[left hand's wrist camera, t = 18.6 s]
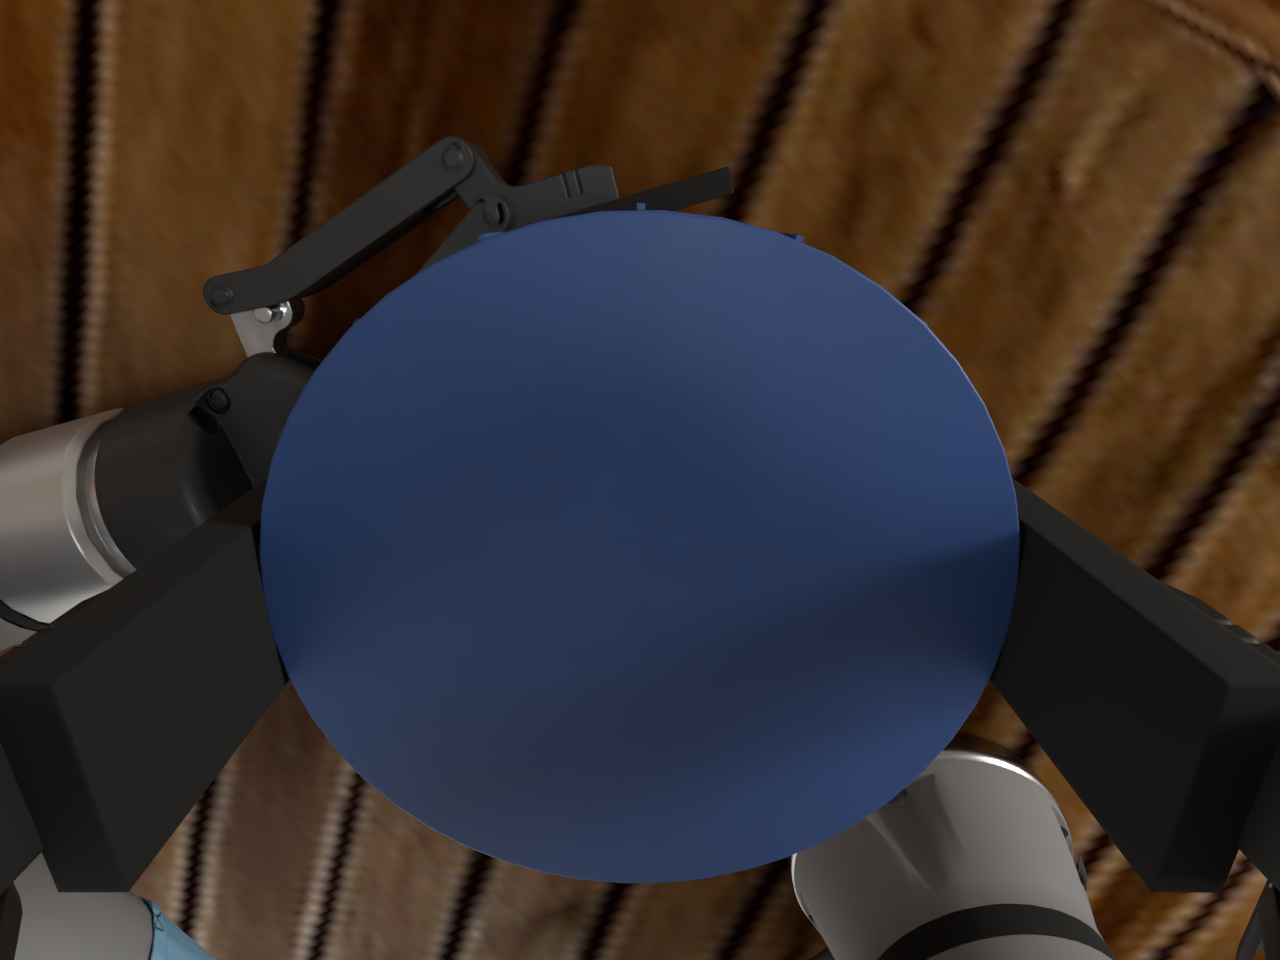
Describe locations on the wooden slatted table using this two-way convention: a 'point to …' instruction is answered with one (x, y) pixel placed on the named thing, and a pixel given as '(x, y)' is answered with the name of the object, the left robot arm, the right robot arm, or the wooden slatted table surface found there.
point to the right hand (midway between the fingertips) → (760, 344)
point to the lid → (639, 546)
